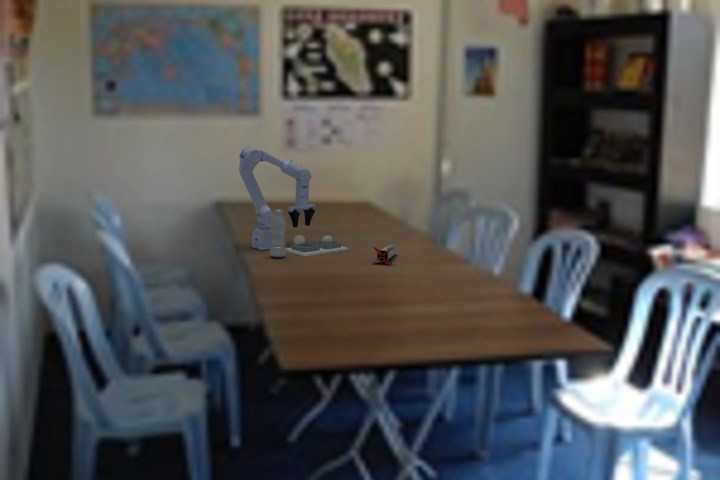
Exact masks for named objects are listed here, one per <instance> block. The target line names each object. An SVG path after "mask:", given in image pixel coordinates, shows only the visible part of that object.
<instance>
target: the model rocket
mask: <svg viewBox="0 0 720 480" xmlns="http://www.w3.org/2000/svg"><path fill="white" fill-rule="evenodd" d="M372 249H374V250H375V251H376V252H377V253H376V259H375V260H374V261H373V262H372V263H371V264H370V265H371V266H373V265H374V264H375V263H377V262H378V261H379V262H381V263H384V262H385V264H386V265H387V267H390V262H389V259H390V258H392V257H393V256H395V255H396V254H397V253H398V252H397V251H398V250H397V247H396V246H395V245H394V244H389V245H386V246H385V247H384V248H381V249H380V248H378V247H375V246H373V248H372Z"/></svg>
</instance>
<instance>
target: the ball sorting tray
mask: <svg viewBox="0 0 720 480" xmlns="http://www.w3.org/2000/svg"><path fill="white" fill-rule="evenodd" d="M346 250H347V251H349V248H348V247H346V246H342V242H340V241H334V240H333V244H323V243H322V240H317V241H313V242H312V243H310V242H305V243H300V244H294V243H293V244H291V247H286V253H289V254H290V253H291V254H295V255H298V256H301V257H304V258H305V257H311V256H317V255H324V254H331V253H332V252H333V253H339V251H340V252H346Z"/></svg>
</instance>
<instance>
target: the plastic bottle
mask: <svg viewBox="0 0 720 480" xmlns="http://www.w3.org/2000/svg"><path fill="white" fill-rule="evenodd" d="M273 214H274V216H273V217H272V218H271V220H270V226H271V246H270V249H269V254H270V256H271V257H273V258H277V259H278V258H283V257H285V256H286V254H287V252H286V248H287V247H286V242H285V241H286V238H285V234H286V228H287V221H286V218H285V217H284V215H283V214H284V209H283V208H273Z"/></svg>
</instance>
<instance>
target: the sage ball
mask: <svg viewBox="0 0 720 480" xmlns="http://www.w3.org/2000/svg"><path fill="white" fill-rule="evenodd" d="M321 241H322V243H323V244H333V241H334V240H333V237H332V236H331V235H324V236H323V237H322V239H321Z"/></svg>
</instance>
